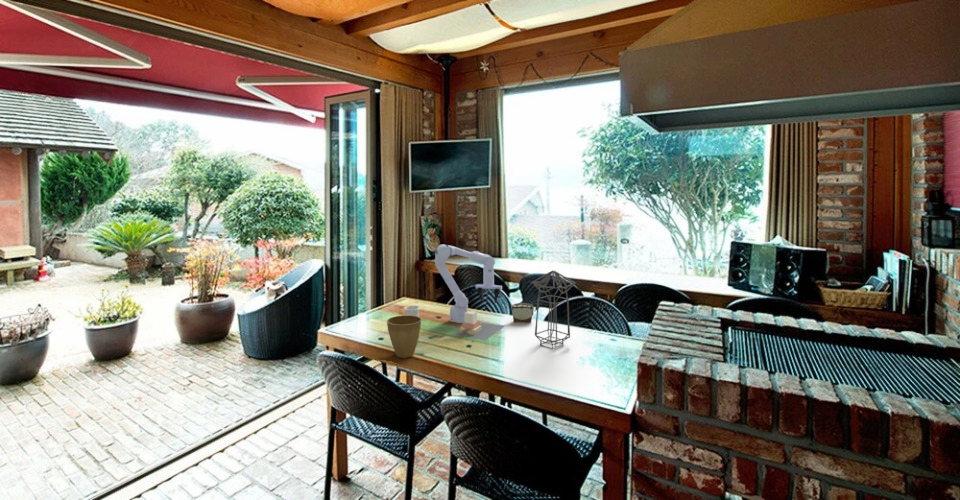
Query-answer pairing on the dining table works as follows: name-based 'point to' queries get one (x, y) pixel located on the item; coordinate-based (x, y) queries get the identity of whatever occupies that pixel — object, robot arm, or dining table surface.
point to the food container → (522, 312)
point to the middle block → (471, 325)
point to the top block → (470, 317)
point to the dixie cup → (412, 310)
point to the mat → (483, 331)
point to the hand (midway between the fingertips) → (488, 301)
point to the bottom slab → (471, 330)
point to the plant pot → (404, 334)
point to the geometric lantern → (551, 304)
